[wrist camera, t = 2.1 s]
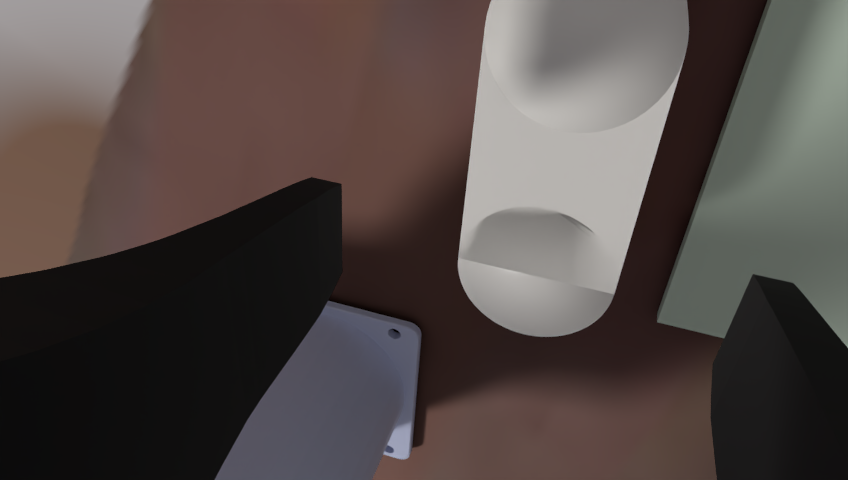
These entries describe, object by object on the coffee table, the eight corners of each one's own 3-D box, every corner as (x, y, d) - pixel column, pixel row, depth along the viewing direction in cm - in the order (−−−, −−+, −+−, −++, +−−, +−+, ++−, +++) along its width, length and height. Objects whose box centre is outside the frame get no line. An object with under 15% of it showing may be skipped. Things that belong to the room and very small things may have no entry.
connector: (490, 224, 22) (451, 315, 18) (558, -242, 15) (518, -259, 11) (610, 250, 21) (596, 352, 17) (743, -230, 14) (773, -244, 10)
